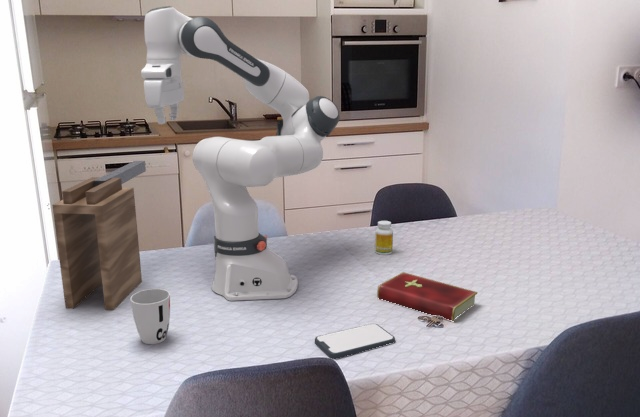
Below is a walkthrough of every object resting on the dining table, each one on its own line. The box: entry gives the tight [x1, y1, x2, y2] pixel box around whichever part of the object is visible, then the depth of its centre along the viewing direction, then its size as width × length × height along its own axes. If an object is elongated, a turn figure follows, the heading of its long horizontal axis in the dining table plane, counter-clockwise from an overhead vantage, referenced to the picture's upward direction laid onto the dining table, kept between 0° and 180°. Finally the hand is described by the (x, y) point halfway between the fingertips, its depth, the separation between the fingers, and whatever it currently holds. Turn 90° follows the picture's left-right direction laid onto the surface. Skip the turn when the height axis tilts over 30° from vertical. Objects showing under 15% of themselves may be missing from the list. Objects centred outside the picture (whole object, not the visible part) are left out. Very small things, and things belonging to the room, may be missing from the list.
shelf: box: [52, 176, 143, 311], centre depth 148 cm, size 12×18×29 cm, turn 174°
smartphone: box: [314, 323, 396, 360], centre depth 127 cm, size 9×2×16 cm
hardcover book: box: [376, 271, 478, 322], centre depth 146 cm, size 12×21×4 cm, turn 50°
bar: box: [94, 160, 147, 187], centre depth 160 cm, size 3×26×3 cm, turn 174°
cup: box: [130, 288, 171, 345], centre depth 128 cm, size 8×8×10 cm
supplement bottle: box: [374, 220, 394, 256], centre depth 181 cm, size 5×5×10 cm
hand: (167, 121), depth 163 cm, fingers open, 8 cm apart
